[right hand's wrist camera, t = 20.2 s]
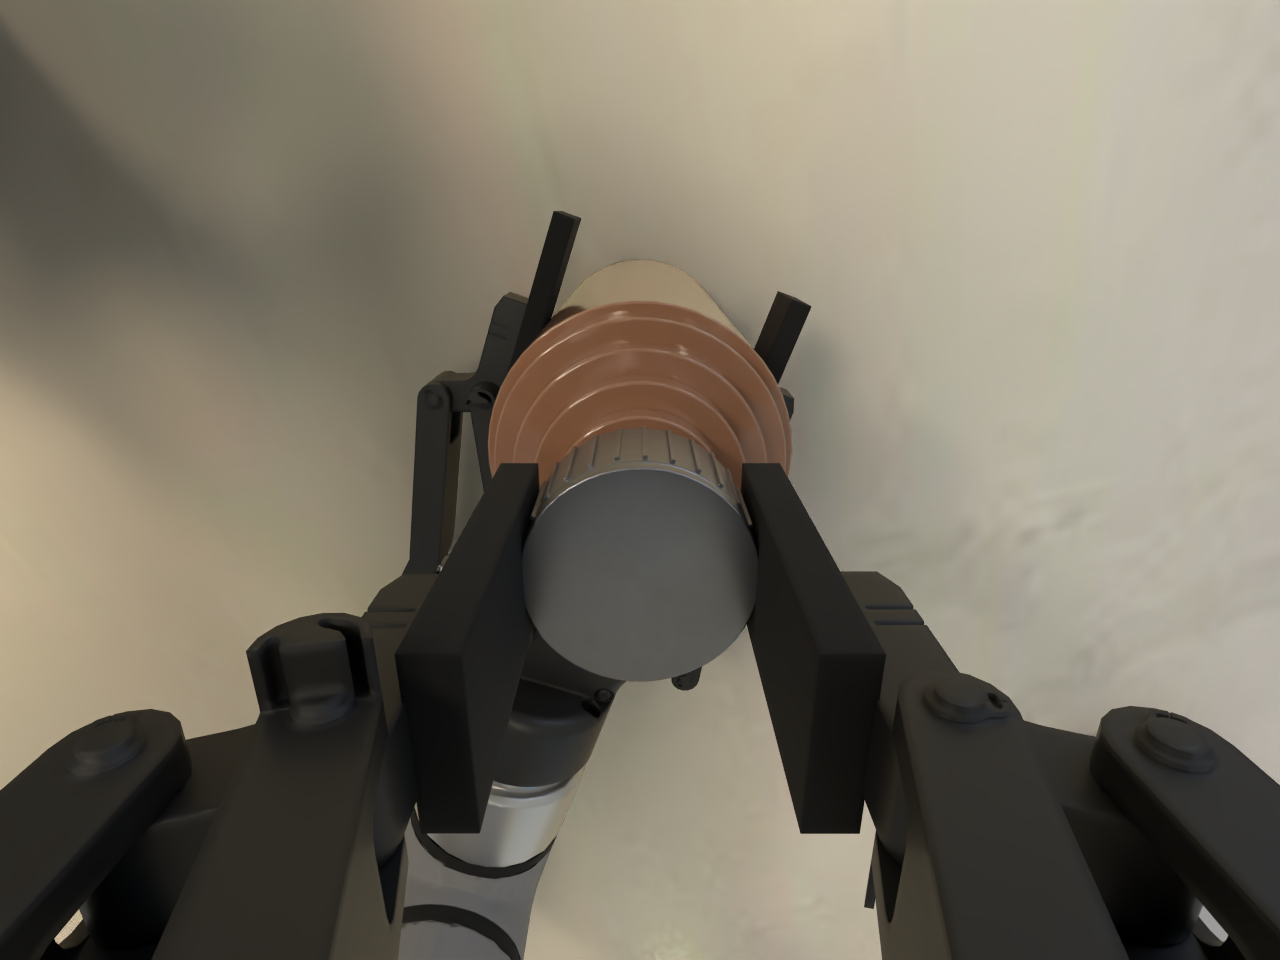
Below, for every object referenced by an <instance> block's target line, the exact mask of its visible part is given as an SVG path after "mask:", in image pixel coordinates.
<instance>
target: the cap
mask: <svg viewBox="0 0 1280 960" xmlns="http://www.w3.org/2000/svg"><path fill="white" fill-rule="evenodd" d="M530 519H531V520H532V521H531V524H530V527H529V530H528V533H527V535H526V538H525V541H524V544H523V548H522V569H523V584H524V599H525V609H526V612H527V614H528V616H529V618H530V620H531V622H532V624H533V625H534V627H535V628H536V630H537V631H538V632H539V634H540V635H541V637H542V638H543V639H544V640H545V641H546V642H547V643H548V644H549V645H550V647H551V648H553V649H554V650H555V651H556V652H557V653H559V654H560V655H561V656H562V657H564V658H565V659H567V660H568V661H570V662H571V663H573V664H574V665H576V666H578V667H580V668H583V669H585V670H587V671H589V672H592V673H595V674H597V675H600V676H604V677H608V678H612V679H617V680H625V681H654V680H662V679H667V678H672V677H676V676H679V675H682V674H685V673H688V672H691V671H693V670H695V669H697V668H699V667H701V666H703V665H705V664H706V663H708V662H710V661H711V660H713V659H715V658H716V657H717V656H718V655H720V654H721V653H722V652H723V651H725V650H726V649H727V648H728V647H729V646H730V645H731V644H732V643H733V642H734V641H735V640H736V639H737V637H738V636H739V635H740V633H741V632H742V631H743V629H744V628H745V626H746V624H747V623H748V621H749V619H750V617H751V615H752V613H753V610H754V608H755V605H756V592H757V577H758V562H759V554H758V549H757V545H756V543H755V540H754V537H753V534H752V531H751V529H752V528H754V526H753V524H752V521H751V518H750V515H749V513H748V510H747V507H746V504H745V502H744V499H743V496H742V493H741V491H740V488H738V489H736V487H735V484H734V481H733V478H732V476H731V473H730V470H729V469H728V468H727V469H726V470H725V468H724V467H723V466H722V464H721V463H720V462H719V461H718V460H717V459H716V458H715V454H714V453H713V452H712V451H711V452H710V453H709V452H708V451H707V450H705V449H704V448H703V447H701V446H700V445H698V444H696V443H695V440H694V439H692V438H691V439H690V440H689V439H687V438H685V437H682V436H680V435H678V434H675V433H672V431H671V430H667V431H664V430H657V429H650V428H647V426H642V428H630V429H622V428H617V430H616V431H612V432H608V433H605V434H602V435H600V436H598V434H596V435H594V436H593V438H592V439H590V440H589V441H587V442H585V443H583V444H581V445H580V446H578V447H576V446H574V447H573V448H572V451H571V452H570V453H569V454H568V455H567V456H566V457H565V458H564V459H563V460H562V461H561V462H560V463H559V462H558V461H557V462H556V463H555V466H554V469H553V472H552V473H551V475H550V476H549V478H548V480H547V481H545V480H544V481H543V483H542V485H541V488H540V491H539V494H538V497H537V499H536V502H535V505H534V508H533V511H532V513H531V516H530Z"/></svg>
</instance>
